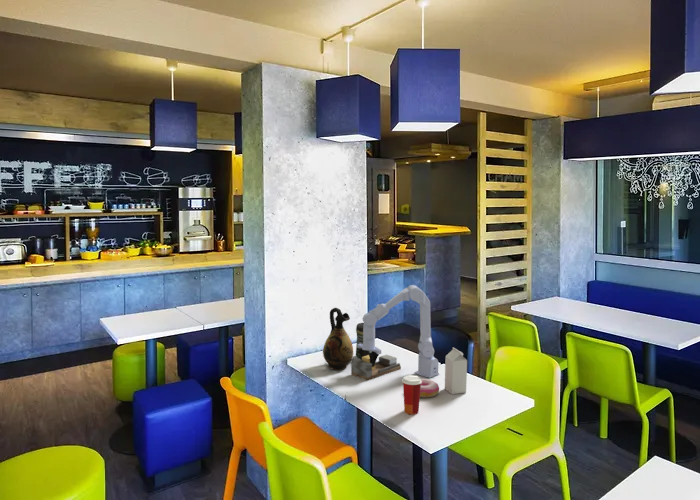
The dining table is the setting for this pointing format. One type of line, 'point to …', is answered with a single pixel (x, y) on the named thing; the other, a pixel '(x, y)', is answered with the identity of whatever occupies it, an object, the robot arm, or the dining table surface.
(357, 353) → the coffee jar
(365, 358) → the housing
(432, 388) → the donut
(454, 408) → the dining table surface
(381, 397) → the dining table surface
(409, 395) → the paper cup
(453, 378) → the milk carton
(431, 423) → the dining table surface
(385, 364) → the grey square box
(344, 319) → the ceramic jug
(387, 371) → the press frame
